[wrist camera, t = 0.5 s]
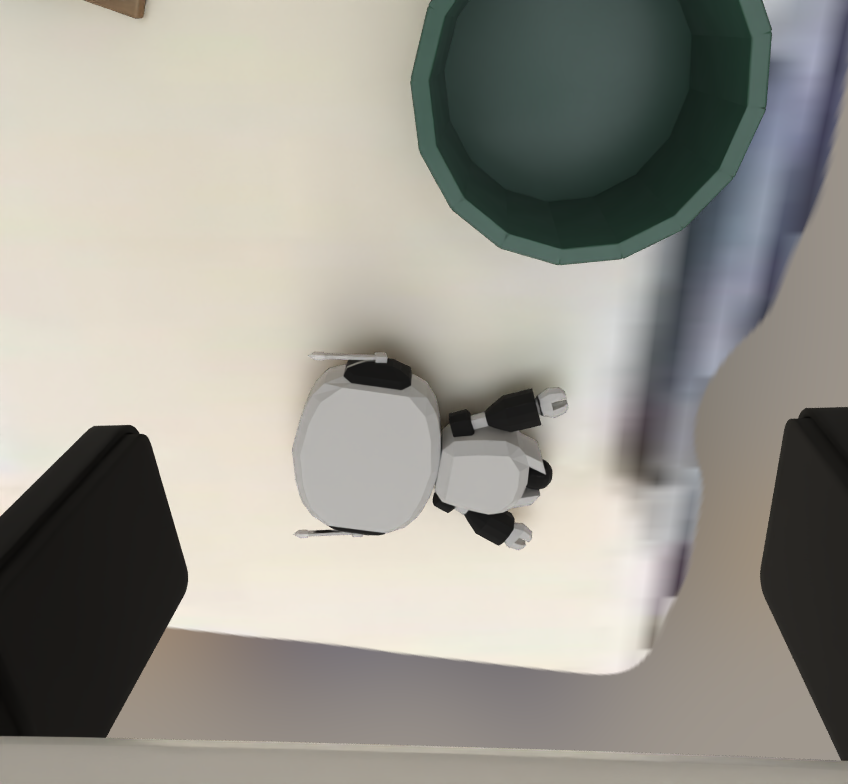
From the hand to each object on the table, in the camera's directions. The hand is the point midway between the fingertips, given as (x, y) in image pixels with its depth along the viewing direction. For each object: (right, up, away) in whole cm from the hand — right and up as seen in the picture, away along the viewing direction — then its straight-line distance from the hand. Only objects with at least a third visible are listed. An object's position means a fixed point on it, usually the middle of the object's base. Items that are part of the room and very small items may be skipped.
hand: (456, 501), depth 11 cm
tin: (+6, +17, +23) cm, 29 cm away
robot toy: (0, -1, +33) cm, 33 cm away
